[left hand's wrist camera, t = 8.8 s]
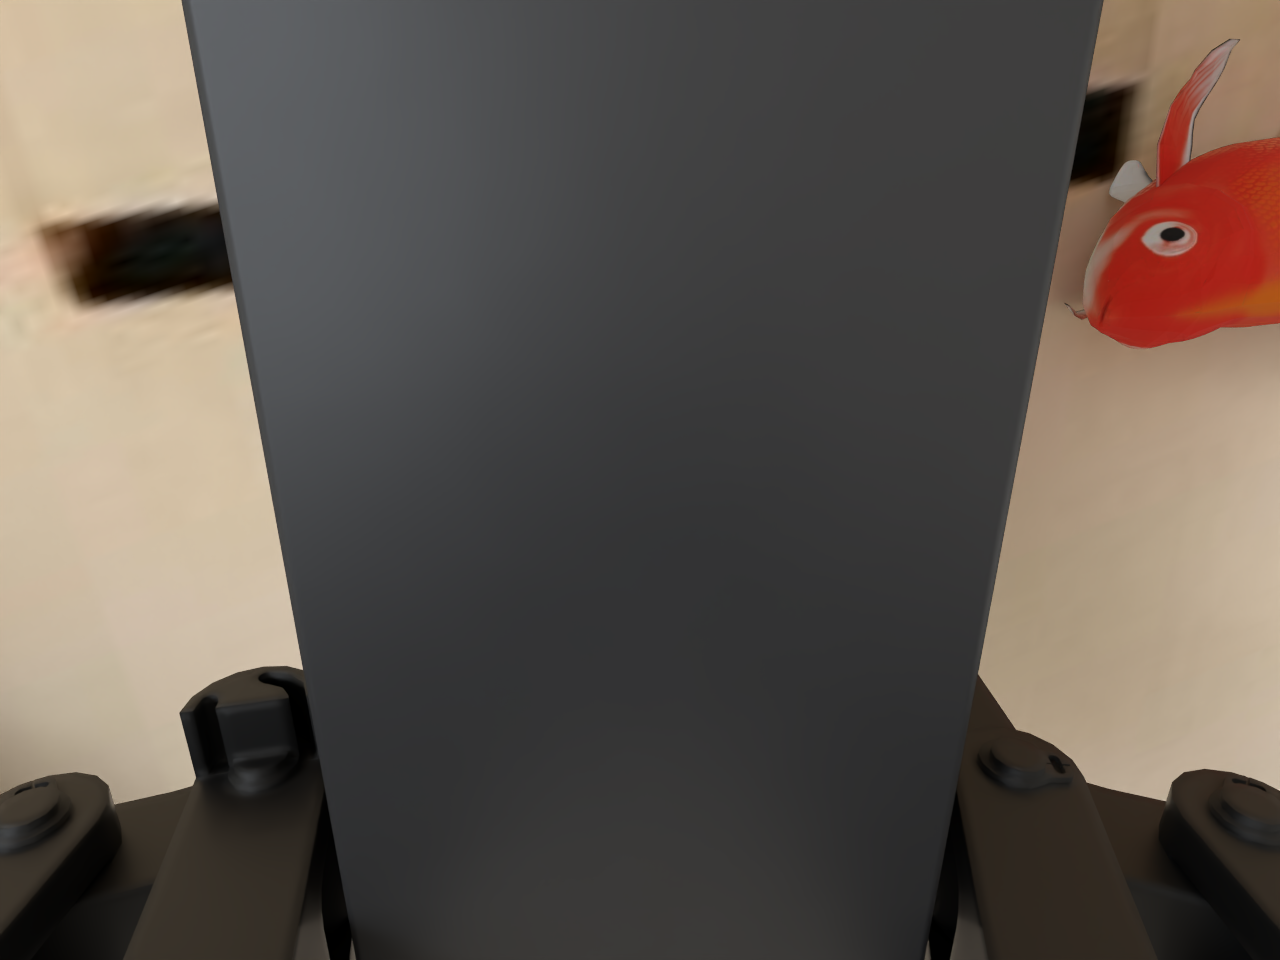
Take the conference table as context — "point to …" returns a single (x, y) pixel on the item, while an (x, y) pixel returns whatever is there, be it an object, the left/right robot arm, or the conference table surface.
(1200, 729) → the conference table surface
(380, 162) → the bar
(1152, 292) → the fish
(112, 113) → the conference table surface
